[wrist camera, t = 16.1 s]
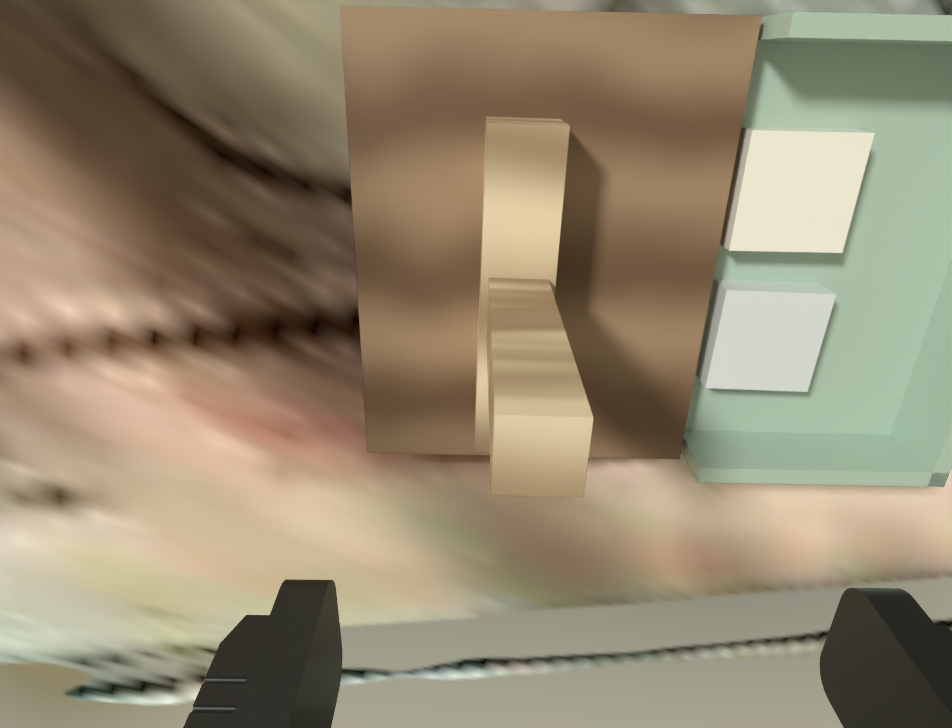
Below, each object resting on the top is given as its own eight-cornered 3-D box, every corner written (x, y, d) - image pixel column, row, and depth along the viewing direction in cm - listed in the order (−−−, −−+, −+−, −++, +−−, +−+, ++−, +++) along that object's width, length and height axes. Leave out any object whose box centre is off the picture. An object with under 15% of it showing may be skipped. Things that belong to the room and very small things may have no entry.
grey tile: (715, 279, 30) (726, 290, 29) (820, 284, 30) (836, 294, 29) (695, 374, 32) (705, 388, 31) (793, 378, 32) (807, 391, 31)
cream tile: (738, 126, 27) (752, 130, 26) (855, 129, 27) (874, 132, 26) (717, 241, 29) (729, 250, 28) (825, 244, 29) (842, 253, 28)
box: (736, 20, 27) (793, 11, 22) (1014, 27, 27) (1133, 19, 22) (667, 423, 36) (697, 481, 31) (879, 428, 36) (944, 486, 31)
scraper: (486, 116, 26) (494, 168, 13) (560, 119, 26) (639, 173, 13) (474, 417, 32) (472, 653, 19) (535, 419, 32) (572, 655, 19)
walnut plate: (355, 12, 27) (339, 5, 24) (729, 20, 27) (762, 15, 24) (377, 418, 36) (367, 452, 33) (661, 423, 36) (679, 458, 33)
